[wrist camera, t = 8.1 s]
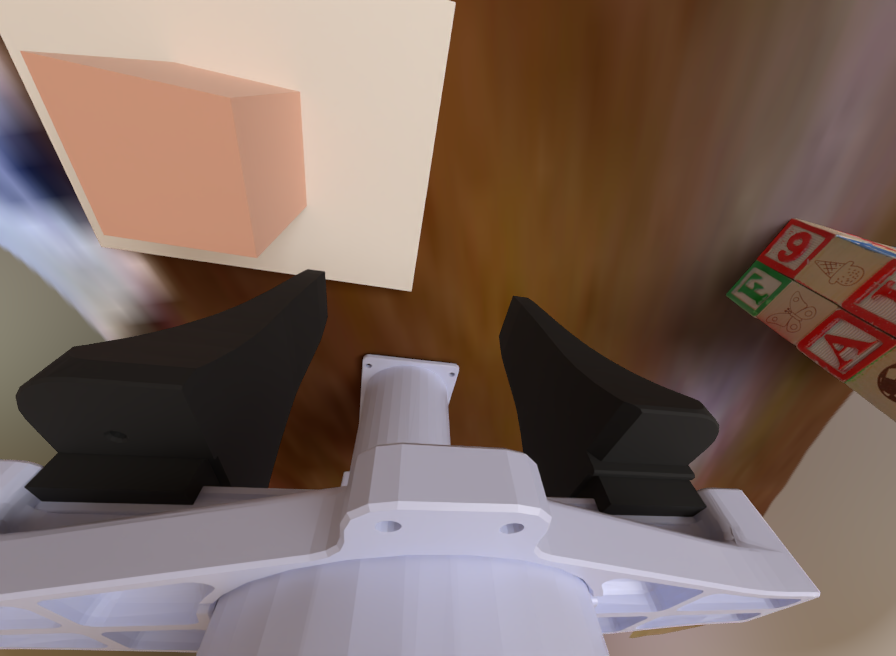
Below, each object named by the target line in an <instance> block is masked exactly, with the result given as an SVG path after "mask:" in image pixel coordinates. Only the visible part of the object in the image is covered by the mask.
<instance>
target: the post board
mask: <svg viewBox="0 0 896 656" xmlns="http://www.w3.org/2000/svg"><path fill="white" fill-rule="evenodd" d="M455 4H456V2H452V1H449V0H0V35H1V37H2V39H3V41H4V43H5V45H6V47H7V49H8V51H9V54H10V56H11V58H12V60H13V62H14V64H15V66H16V68H17V70H18V73H19V75H20V77H21V79H22V81H23V83H24V85H25V87H26V89H27V92H28V94H29V96H30V98H31V100H32V102H33V104H34V106H35V108H36V110H37V113H38V115H39V117H40V119H41V121H42V123H43V125H44V127H45V129H46V132H47V134H48V136H49V138H50V140H51V142H52V144H53V146H54V148H55V151H56V153H57V155H58V157H59V159H60V161H61V163H62V165H63V167H64V169H65V172H66V174H67V176H68V178H69V180H70V182H71V184H72V186H73V188H74V191H75V193H76V195H77V197H78V199H79V201H80V203H81V205H82V207H83V209H84V212H85V214H86V216H87V218H88V220H89V222H90V224H91V226H92V228H93V231H94V233H95V235H96V237H97V239H98V241H99V243H100V245H101V247H106V248H113V249H120V250H127V251H134V252H141V253H148V254H155V255H162V256H169V257H175V258H182V259H189V260H196V261H203V262H210V263H217V264H224V265H231V266H238V267H245V268H252V269H259V270H266V271H273V272H280V273H287V274H294V275H297V274H299V273H301V272H303V271H305V270H307V269H311V270H318V271H325V279H328V280H335V281H342V282H349V283H356V284H363V285H370V286H377V287H384V288H391V289H398V290H405V291H412V284H413V278H414V271H415V265H416V258H417V252H418V245H419V239H420V232H421V226H422V219H423V212H424V206H425V199H426V193H427V186H428V180H429V173H430V167H431V160H432V154H433V147H434V141H435V134H436V128H437V121H438V115H439V108H440V102H441V95H442V89H443V82H444V76H445V69H446V63H447V56H448V49H449V43H450V36H451V30H452V23H453V17H454V10H455ZM20 51H32V52H46V53H59V54H73V55H86V56H100V57H113V58H126V59H140V60H153V61H167V62H175V63H180V64H184V65H188V66H192V67H197V68H201V69H205V70H209V71H214V72H218V73H222V74H226V75H231V76H235V77H239V78H244V79H248V80H252V81H256V82H261V83H265V84H269V85H273V86H278V87H282V88H286V89H290V90H295V91H299V92H300V99H301V116H302V133H303V149H304V166H305V183H306V199H307V206H306V207H305V208H304V210H303V211H302V212H301V213H300V214H299V215H298V216H297V217H296V218H295V219H294V220H293V221H292V222H291V223H290V224H289V225H288V226H287V227H286V228H285V229H284V230H283V231H282V233H281V234H280V235H279V236H278V237H277V238H276V239H275V240H274V241H273V242H272V243H271V244H270V245H269V246H268V247H267V248H266V249H265V250H264V251H263V252H262V253H261V255H260V256H259V257H258V258H253V257H247V256H240V255H234V254H227V253H220V252H214V251H207V250H201V249H194V248H187V247H181V246H174V245H167V244H161V243H154V242H148V241H141V240H134V239H128V238H121V237H114V236H108V235H104V234H103V232H102V230H101V228H100V225H99V223H98V221H97V219H96V217H95V214H94V212H93V210H92V208H91V206H90V204H89V201H88V199H87V197H86V195H85V193H84V190H83V188H82V186H81V184H80V182H79V179H78V177H77V175H76V173H75V171H74V168H73V166H72V164H71V162H70V160H69V157H68V155H67V153H66V151H65V149H64V147H63V144H62V142H61V140H60V138H59V136H58V133H57V131H56V129H55V127H54V125H53V122H52V120H51V118H50V116H49V114H48V111H47V109H46V107H45V105H44V103H43V101H42V98H41V96H40V94H39V92H38V90H37V87H36V85H35V83H34V81H33V79H32V76H31V74H30V72H29V70H28V68H27V65H26V63H25V61H24V59H23V57H22V54H21V52H20Z"/></svg>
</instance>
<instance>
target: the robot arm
mask: <svg viewBox="0 0 896 656" xmlns="http://www.w3.org/2000/svg"><path fill="white" fill-rule="evenodd" d="M327 317H328V315H327V297H326V279H325V271H318V270H311V269H307V270H305V271H303V272H301V273H299V274H297V275H296V276H294V277H292V278H290V279H289V280H287V281H285V282H283V283H282V284H280V285H278V286H276V287H275V288H273V289H271V290H269V291H267V292H265V293H263V294H261V295H259V296H257V297H255V298H253V299H251V300H249V301H247V302H245V303H243V304H241V305H238V306H236V307H233V308H231V309H228V310H226V311H223V312H221V313H218V314H215V315H213V316H210V317H206V318H203V319H200V320H197V321H193V322H190V323H187V324H184V325H180V326H177V327H173V328H169V329H165V330H161V331H157V332H152V333H148V334H143V335H139V336H134V337H129V338H124V339H118V340H112V341H106V342H100V343H94V344H89V345H82V346H76V347H72V348H71V349H70V350H68V351H67V352H66V353H64V354H63V355H62V356H60V357H59V358H58V359H56V360H55V361H54V362H52V363H51V364H50V365H48V366H47V367H46V368H44V369H43V370H42V371H41V372H39V373H38V374H36V375H35V376H34V377H33V378H31V379H30V380H29V381H27V382H26V383H24V384H23V385H22V386H20V388H19V390H18V392H17V394H16V400H17V405H18V409H19V411H20V412H21V414H22V415H23V416H24V418H25V419H26V420H27V421H28V422H29V423H30V424H31V425H32V426H33V427H34V428H35V429H36V430H37V432H38V433H40V434H41V436H42V437H43V438H44V439H45V440H46V441H47V442H48V443H49V444H50V445H51V446H52V447H53V448H54V449H55V450H56V451H57V452H58V453H57V454H56V456H54V457H53V459H51V461H49V462H48V463H47V464H46V466H45V467H44V466H42V465H39V464H36V463H33V462H28V461H22V460H0V649H64V650H65V649H66V650H113V651H116V650H117V651H159V652H197V654H196V656H609V653H608V649H607V646H606V644H605V640H604V637H603V634H609V633H620V632H628V631H639V630H648V629H657V628H668V627H678V626H689V625H703V624H718V623H739V622H746V621H749V620H752V619H755V618H758V617H761V616H764V615H767V614H770V613H773V612H776V611H779V610H782V609H785V608H788V607H791V606H794V605H797V604H800V603H803V602H806V601H809V600H812V599H815V598H818V597H819V596H820V591H819V590H818V589H817V587H816V586H815V585H814V584H813V582H812V581H811V579H810V578H809V577H808V576H807V574H806V573H805V572H804V570H803V569H802V568H801V567H800V565H799V564H798V563H797V561H796V560H795V559H794V558H793V556H792V555H791V554H790V552H789V551H788V550H787V548H786V547H785V546H784V545H783V544H782V542H781V541H780V539H779V538H778V537H777V536H776V534H775V533H774V532H773V530H772V529H771V528H770V527H769V525H768V524H767V523H766V521H765V520H764V519H763V517H762V516H761V515H760V514H759V512H758V511H757V510H756V508H755V507H754V506H753V504H752V503H751V502H750V501H749V499H748V498H747V497H746V495H745V494H744V493H743V492H742V490H739V489H729V488H703V489H700V490H697V491H696V490H695V488H694V487H693V485H692V484H691V482H690V481H689V480H693V479H694V478H695V474H694V473H693V471H692V470H691V468H690V467H689V466H688V464H690V463H691V462H692V461H693V460H694V459H695V458H697V457H698V456H699V455H700V454H701V453H702V452H704V451H705V450H706V449H707V448H708V447H709V446H710V445H711V444H712V443H713V442H714V441H715V439H716V437H717V435H718V432H719V424H718V423H717V421H716V419H715V418H714V417H713V416H712V415H711V414H710V412H709V411H708V410H707V409H706V408H705V407H704V405H703V404H702V403H701V402H700V401H698V400H695V399H693V398H690V397H688V396H685V395H683V394H680V393H677V392H675V391H672V390H670V389H667V388H665V387H662V386H660V385H658V384H656V383H653V382H651V381H649V380H647V379H645V378H642V377H640V376H638V375H636V374H634V373H632V372H630V371H629V370H627V369H625V368H623V367H621V366H619V365H618V364H616V363H614V362H612V361H610V360H609V359H607V358H605V357H604V356H602V355H601V354H599V353H598V352H596V351H595V350H593V349H591V348H590V347H588V346H587V345H586V344H584V343H583V342H581V341H580V340H579V339H578V338H576V337H575V336H574V335H572V334H571V333H570V332H568V331H567V330H566V329H565V328H564V327H562V326H561V325H560V324H559V323H558V322H556V321H555V320H554V319H553V318H552V317H551V316H549V315H548V314H547V313H546V312H545V311H544V310H543V309H541V308H540V307H539V306H538V305H537V304H535V303H534V302H533V301H532V300H530V299H529V298H525V297H518V296H513V298H512V301H511V303H510V306H509V309H508V312H507V315H506V318H505V320H504V323H503V326H502V329H501V332H500V335H499V340H500V348H501V355H502V359H503V363H504V367H505V370H506V374H507V377H508V381H509V384H510V387H511V391H512V394H513V398H514V401H515V405H516V409H517V414H518V420H519V426H520V432H521V439H522V446H523V453H522V452H518V451H514V450H510V449H505V448H492V447H474V446H456V445H450V430H449V415H448V404H449V401H450V398H451V395H452V391H453V388H454V385H455V382H456V378H457V375H458V372H459V367H458V365H457V364H453V363H444V362H435V361H426V360H417V359H408V358H399V357H390V356H380V355H371V354H367V355H365V356H364V357H363V363H362V381H361V399H360V417H359V426H358V431H357V436H356V442H355V447H354V452H353V457H352V462H351V467H350V471H346V472H344V474H343V479H342V483H341V487H335V488H328V489H321V490H309V489H277V488H268V485H269V482H270V478H271V474H272V470H273V467H274V463H275V460H276V456H277V453H278V449H279V446H280V442H281V439H282V436H283V433H284V429H285V426H286V423H287V420H288V417H289V414H290V410H291V407H292V404H293V401H294V398H295V395H296V393H297V390H298V388H299V386H300V383H301V381H302V379H303V377H304V375H305V373H306V371H307V368H308V366H309V364H310V362H311V360H312V358H313V356H314V354H315V351H316V349H317V347H318V345H319V343H320V340H321V338H322V335H323V331H324V328H325V324H326V321H327ZM367 364H371V365H367ZM451 373H452V374H451Z"/></svg>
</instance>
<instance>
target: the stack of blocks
mask: <svg viewBox="0 0 896 656" xmlns="http://www.w3.org/2000/svg"><path fill="white" fill-rule="evenodd" d="M726 296H727V297H728V298H730V299H731V300H732V301H733V302H735V303H736V304H737V305H738V306H740V307H741V308H742V309H744V310H745V311H746V312H748V313H749V314H750V315H751V316H753V317H754V318H758V319H759V320H761V321H762V322H763V323H765V324H766V325H767V326H769V327H770V328H771V329H773V330H774V331H775V332H777V333H778V334H779V335H780V336H782V337H783V338H785V339H786V340H788V341H789V342H790V343H792V344H794V345H796V348H797V349H798V350H799V351H800V352H802V353H803V354H804V355H805V356H807V357H808V358H810V359H811V360H813V361H814V362H815V363H816V364H818V365H819V366H821V367H822V368H823V369H824V370H826V371H827V372H829V373H830V374H832V375H833V376H834V377H836V378H837V379H838V380H840V381H842V382H844V383H845V384H847V385H848V386H849V387H850V388H852V389H853V390H854V391H856V392H857V393H858V394H860V395H861V396H862V397H863V398H865V399H866V400H867V401H868V402H870V403H871V404H872V405H874V406H875V407H876V408H878V409H879V410H880V411H882V412H883V413H884V414H886V415H887V416H889V417H890V418H891V419H892V420H894V421H895V422H896V248H895V247H890V246H887V245H883V244H879V243H876V242H872V241H869V240H866V239H863V238H861V237H858V236H854V235H851V234H847V233H843V232H840V231H837V230H833V229H830V228H827V227H824V226H821V225H817V224H814V223H810V222H806V221H803V220H799V219H796V218H793V219H791V220H790V221H789V222H788V224H787V225H786V226H785V227H784V228H783V229H782V230H781V232H780V233H779V234H778V235H777V236H776V237H775V238H774V240H773V241H772V242H771V243H770V244H769V245H768V247H767V248H766V249H765V250H764V251H763V252H762V253H761V255H760V256H759V257H758V258H757V260H756V261H755V262H754V263H753V264H752V266H751V267H750V268H749V269H748V270H747V271H746V272H745V274H744V275H743V276H742V277H741V278H740V279H739V280H738V281H737V283H736V284H735V285H734V286H733V287H732V288H731V289H730V290H729V292H728V293H727V294H726Z"/></svg>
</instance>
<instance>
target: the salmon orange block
mask: <svg viewBox="0 0 896 656" xmlns="http://www.w3.org/2000/svg"><path fill="white" fill-rule="evenodd" d="M20 52H21V54H22V57H23V59H24V61H25V63H26V65H27V68H28V70H29V72H30V74H31V76H32V79H33V81H34V83H35V85H36V87H37V90H38V92H39V94H40V96H41V98H42V101H43V103H44V105H45V107H46V109H47V111H48V114H49V116H50V118H51V120H52V122H53V125H54V127H55V129H56V131H57V133H58V136H59V138H60V140H61V142H62V144H63V147H64V149H65V151H66V153H67V155H68V157H69V160H70V162H71V164H72V166H73V168H74V171H75V173H76V175H77V177H78V179H79V182H80V184H81V186H82V188H83V190H84V193H85V195H86V197H87V199H88V201H89V204H90V206H91V208H92V210H93V212H94V214H95V217H96V219H97V221H98V223H99V225H100V228H101V230H102V232H103V234H104V235H108V236H114V237H121V238H128V239H134V240H141V241H148V242H154V243H161V244H167V245H174V246H181V247H187V248H194V249H201V250H207V251H214V252H220V253H227V254H234V255H240V256H247V257H253V258H258V257H259V256H260V255H261V253H262V252H263V251H264V250H265V249H266V248H267V247H268V246H269V245H270V244H271V243H272V242H273V241H274V240H275V239H276V238H277V237H278V236H279V235H280V234H281V233H282V231H283V230H284V229H285V228H286V227H287V226H288V225H289V224H290V223H291V222H292V221H293V220H294V219H295V218H296V217H297V216H298V215H299V214H300V213H301V212H302V211H303V210H304V208H305V207H306V206H307V199H306V183H305V166H304V149H303V133H302V116H301V99H300V92H299V91H295V90H290V89H286V88H282V87H278V86H273V85H269V84H265V83H261V82H256V81H252V80H248V79H244V78H239V77H235V76H231V75H226V74H222V73H218V72H214V71H209V70H205V69H201V68H197V67H192V66H188V65H184V64H180V63H175V62H167V61H153V60H140V59H126V58H113V57H100V56H86V55H73V54H59V53H46V52H32V51H20Z"/></svg>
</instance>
